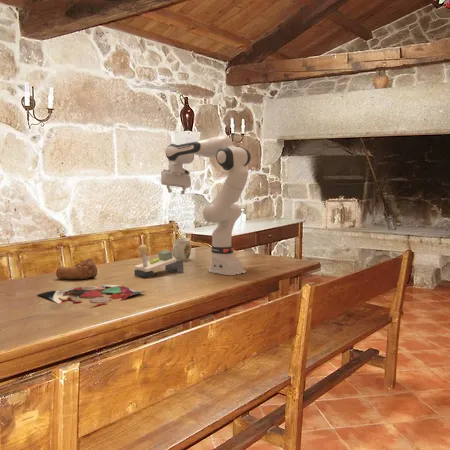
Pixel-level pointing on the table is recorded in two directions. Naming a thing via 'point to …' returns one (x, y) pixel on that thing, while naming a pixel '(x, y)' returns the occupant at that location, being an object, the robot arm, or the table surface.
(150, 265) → the plate
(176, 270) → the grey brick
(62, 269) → the clay pipe
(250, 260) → the table surface
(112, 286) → the colourful flat sheet
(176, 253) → the pitcher
